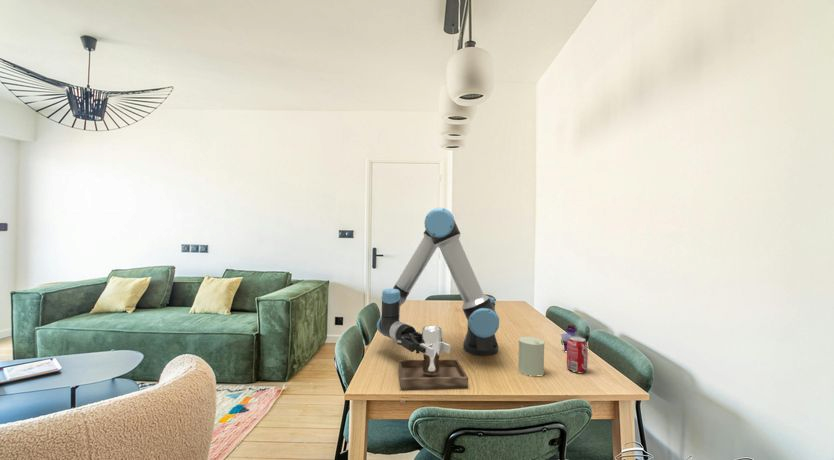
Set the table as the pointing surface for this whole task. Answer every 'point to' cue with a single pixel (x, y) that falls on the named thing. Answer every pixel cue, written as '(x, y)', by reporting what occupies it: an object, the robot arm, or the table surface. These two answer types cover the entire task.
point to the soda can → (577, 354)
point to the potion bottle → (568, 335)
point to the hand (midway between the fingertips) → (441, 351)
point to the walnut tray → (446, 379)
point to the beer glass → (433, 340)
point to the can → (531, 356)
